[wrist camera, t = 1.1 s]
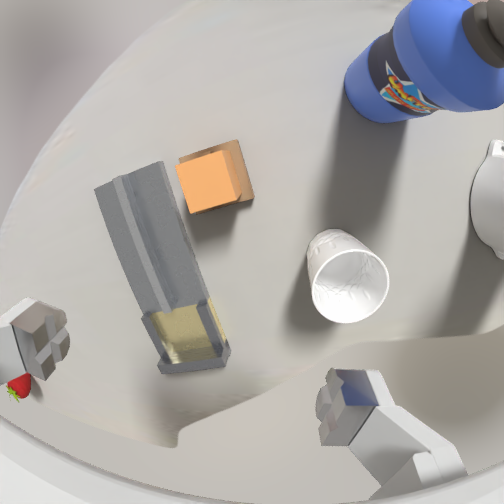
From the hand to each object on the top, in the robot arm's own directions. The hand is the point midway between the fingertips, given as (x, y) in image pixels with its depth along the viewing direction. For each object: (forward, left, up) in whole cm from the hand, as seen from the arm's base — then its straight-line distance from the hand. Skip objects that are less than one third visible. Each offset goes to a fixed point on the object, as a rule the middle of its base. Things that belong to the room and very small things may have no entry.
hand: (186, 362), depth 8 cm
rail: (+14, +6, -29) cm, 33 cm away
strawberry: (+62, +22, -29) cm, 72 cm away
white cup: (-8, +9, -29) cm, 31 cm away
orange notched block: (+3, -4, -27) cm, 28 cm away
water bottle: (-19, -10, -29) cm, 36 cm away
